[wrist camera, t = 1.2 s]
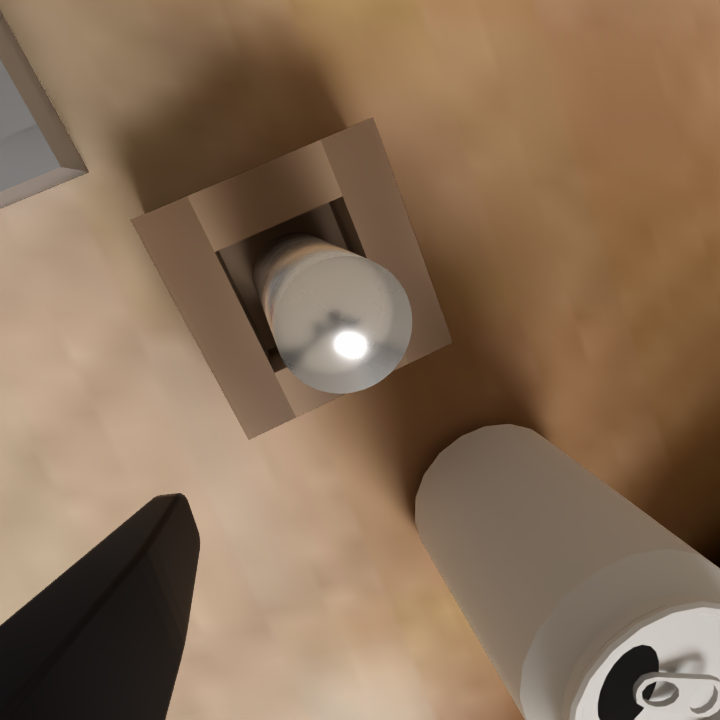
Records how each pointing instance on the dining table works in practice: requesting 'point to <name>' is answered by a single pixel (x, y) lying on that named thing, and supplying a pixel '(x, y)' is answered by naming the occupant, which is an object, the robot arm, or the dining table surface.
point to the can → (571, 583)
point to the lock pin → (332, 312)
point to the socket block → (254, 230)
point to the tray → (29, 130)
